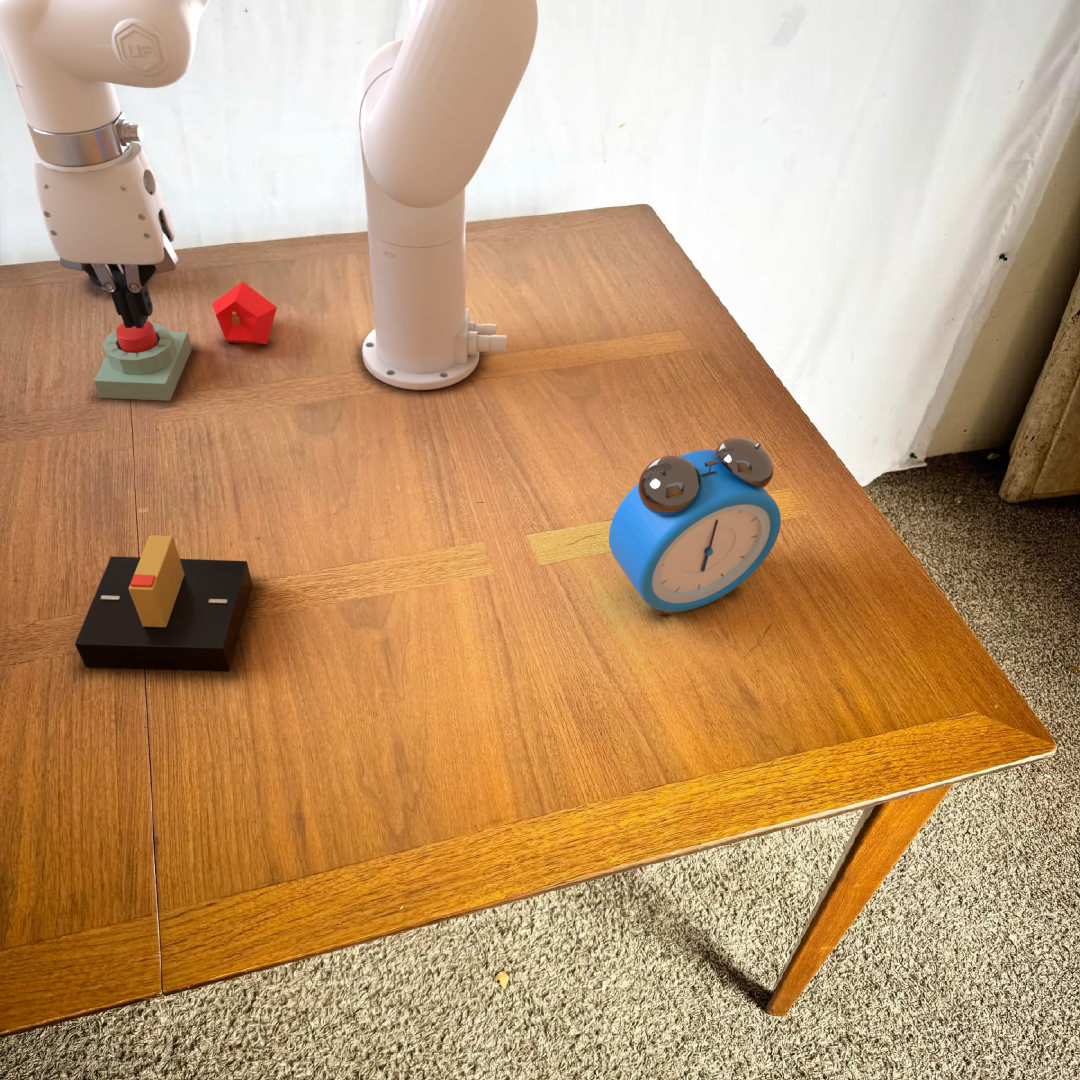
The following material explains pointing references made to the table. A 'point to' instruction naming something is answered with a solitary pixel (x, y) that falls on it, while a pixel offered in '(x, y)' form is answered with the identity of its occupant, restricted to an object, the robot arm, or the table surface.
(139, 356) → the block
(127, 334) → the bell button
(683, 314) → the table surface
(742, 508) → the alarm clock
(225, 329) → the apple
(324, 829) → the table surface
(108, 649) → the plate
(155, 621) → the lock knob
